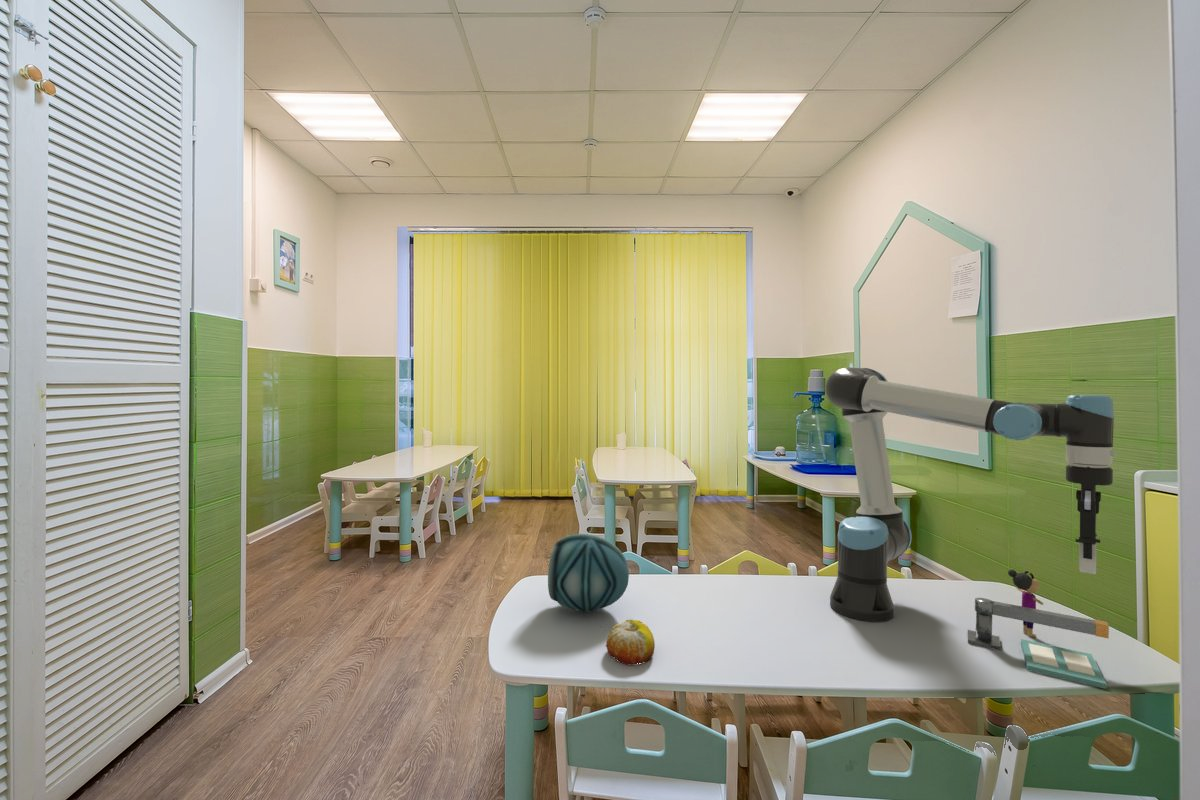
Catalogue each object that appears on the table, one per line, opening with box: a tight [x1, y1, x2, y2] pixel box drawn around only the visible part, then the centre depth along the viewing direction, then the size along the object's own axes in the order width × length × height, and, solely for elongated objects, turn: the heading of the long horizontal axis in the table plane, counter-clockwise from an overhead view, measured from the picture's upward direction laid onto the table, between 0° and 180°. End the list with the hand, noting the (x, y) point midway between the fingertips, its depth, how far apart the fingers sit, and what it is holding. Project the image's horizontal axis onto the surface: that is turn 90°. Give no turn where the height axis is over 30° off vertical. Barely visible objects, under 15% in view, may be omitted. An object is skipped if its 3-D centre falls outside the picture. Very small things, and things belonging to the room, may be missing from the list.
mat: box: [1020, 638, 1107, 690], centre depth 111 cm, size 12×14×1 cm
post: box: [967, 611, 1002, 651], centre depth 121 cm, size 6×6×7 cm
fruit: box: [605, 619, 656, 665], centre depth 114 cm, size 11×10×8 cm
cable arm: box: [974, 597, 1110, 640], centre depth 115 cm, size 22×4×3 cm, turn 56°
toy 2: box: [1007, 569, 1044, 637], centre depth 125 cm, size 10×6×15 cm, turn 168°
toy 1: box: [547, 533, 630, 613], centre depth 136 cm, size 19×20×20 cm
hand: (1087, 572), depth 115 cm, fingers closed
